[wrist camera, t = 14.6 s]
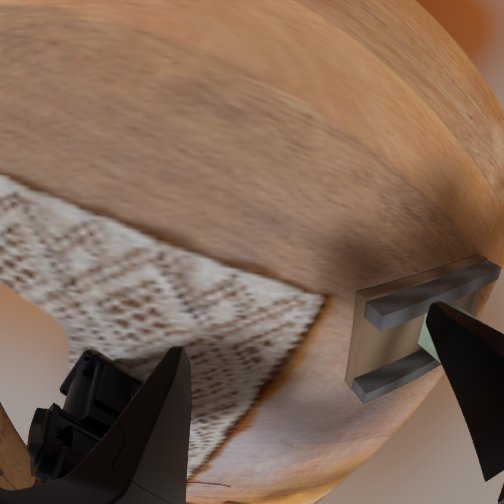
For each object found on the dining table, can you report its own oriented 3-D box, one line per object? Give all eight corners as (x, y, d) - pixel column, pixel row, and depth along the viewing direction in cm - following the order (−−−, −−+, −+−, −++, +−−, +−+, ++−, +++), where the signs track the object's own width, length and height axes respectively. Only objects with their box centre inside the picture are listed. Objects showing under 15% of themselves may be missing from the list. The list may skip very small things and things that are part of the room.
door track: (344, 380, 27) (362, 405, 24) (356, 291, 24) (383, 313, 20) (460, 327, 31) (478, 341, 28) (478, 254, 28) (501, 265, 24)
